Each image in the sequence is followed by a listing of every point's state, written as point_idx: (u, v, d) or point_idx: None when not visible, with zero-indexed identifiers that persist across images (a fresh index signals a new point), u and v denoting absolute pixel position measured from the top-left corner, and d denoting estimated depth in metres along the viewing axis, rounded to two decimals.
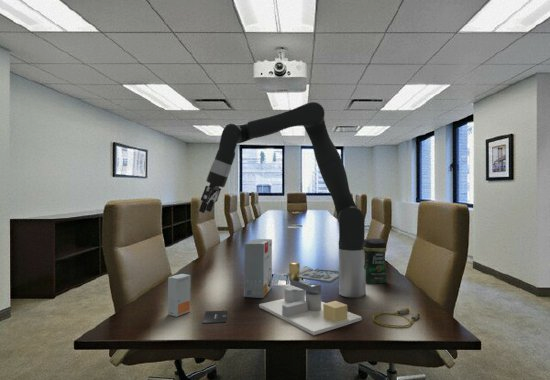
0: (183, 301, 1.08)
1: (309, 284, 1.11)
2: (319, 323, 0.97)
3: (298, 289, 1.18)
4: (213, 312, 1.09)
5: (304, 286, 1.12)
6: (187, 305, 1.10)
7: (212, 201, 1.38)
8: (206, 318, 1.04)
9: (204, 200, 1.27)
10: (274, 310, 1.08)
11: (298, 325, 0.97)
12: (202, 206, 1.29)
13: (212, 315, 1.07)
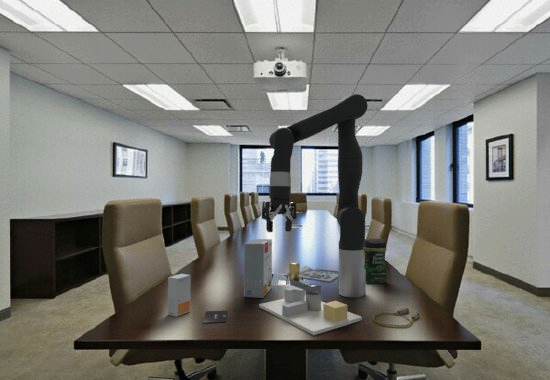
0: (183, 301, 1.08)
1: (309, 284, 1.11)
2: (319, 323, 0.97)
3: (298, 289, 1.18)
4: (213, 312, 1.09)
5: (304, 286, 1.12)
6: (187, 305, 1.10)
7: (288, 219, 1.21)
8: (206, 318, 1.04)
9: (264, 217, 1.14)
10: (274, 310, 1.08)
11: (298, 325, 0.97)
12: (267, 225, 1.15)
13: (212, 315, 1.07)
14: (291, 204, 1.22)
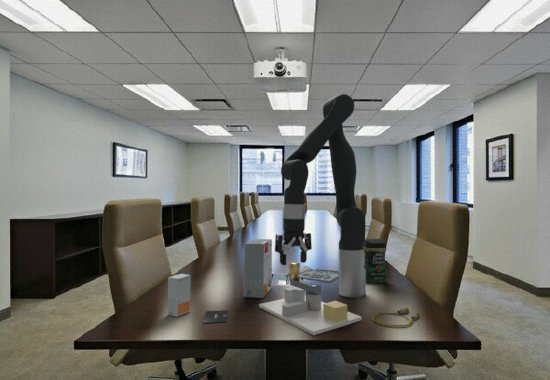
0: (183, 301, 1.08)
1: (309, 284, 1.11)
2: (319, 323, 0.97)
3: (298, 289, 1.18)
4: (213, 312, 1.09)
5: (304, 286, 1.12)
6: (187, 305, 1.10)
7: (303, 250, 1.21)
8: (206, 318, 1.04)
9: (277, 251, 1.14)
10: (274, 310, 1.08)
11: (298, 325, 0.97)
12: (280, 258, 1.16)
13: (212, 314, 1.07)
14: (306, 235, 1.21)
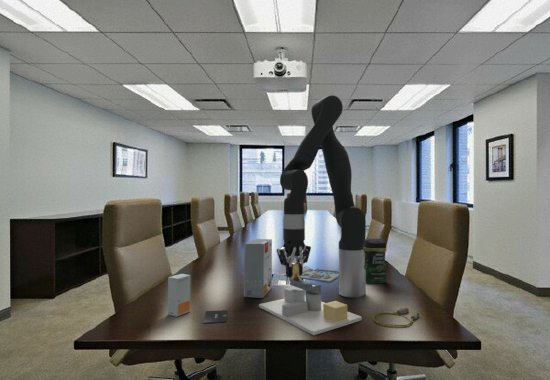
0: (183, 301, 1.08)
1: (309, 284, 1.11)
2: (319, 323, 0.97)
3: (298, 289, 1.18)
4: (213, 312, 1.09)
5: (304, 286, 1.12)
6: (187, 305, 1.10)
7: (299, 262, 1.19)
8: (207, 318, 1.04)
9: (283, 264, 1.15)
10: (274, 310, 1.08)
11: (298, 325, 0.97)
12: (286, 270, 1.17)
13: (212, 314, 1.07)
14: (306, 247, 1.21)
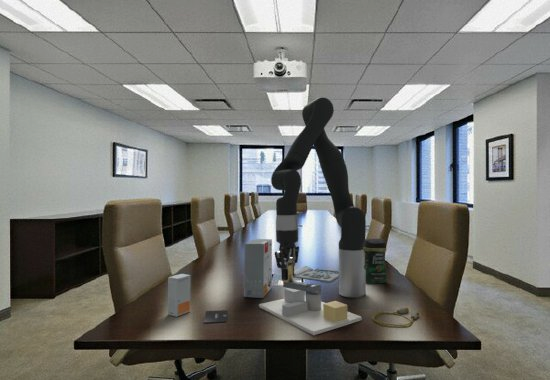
0: (183, 301, 1.08)
1: (308, 284, 1.11)
2: (319, 323, 0.97)
3: None
4: (214, 312, 1.09)
5: (303, 287, 1.11)
6: (187, 305, 1.10)
7: (291, 263, 1.17)
8: (207, 318, 1.04)
9: (281, 267, 1.11)
10: (274, 310, 1.08)
11: (298, 325, 0.97)
12: (283, 273, 1.13)
13: (213, 314, 1.07)
14: (295, 247, 1.20)
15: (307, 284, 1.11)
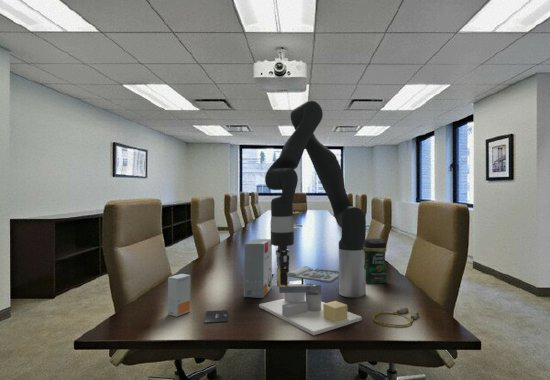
0: (183, 301, 1.08)
1: (308, 285, 1.10)
2: (319, 323, 0.97)
3: None
4: (214, 312, 1.09)
5: (304, 289, 1.09)
6: (187, 305, 1.10)
7: None
8: (207, 318, 1.04)
9: (285, 272, 1.05)
10: (274, 310, 1.08)
11: (298, 325, 0.97)
12: (283, 278, 1.07)
13: (213, 314, 1.07)
14: None
15: (306, 285, 1.10)
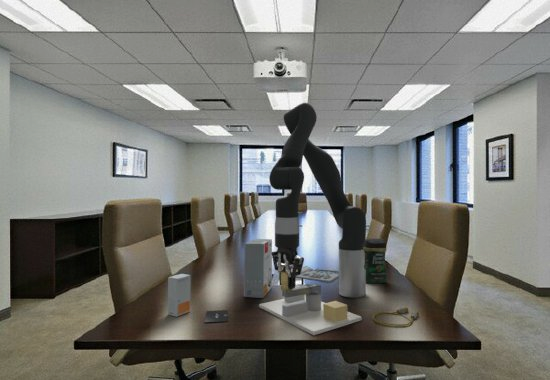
0: (183, 301, 1.08)
1: (309, 286, 1.09)
2: (319, 323, 0.97)
3: None
4: (214, 312, 1.09)
5: (307, 290, 1.07)
6: (187, 305, 1.10)
7: (283, 270, 1.07)
8: (208, 318, 1.04)
9: (297, 274, 1.01)
10: (274, 310, 1.08)
11: (298, 325, 0.97)
12: (293, 281, 1.02)
13: (213, 314, 1.07)
14: None
15: (308, 286, 1.09)
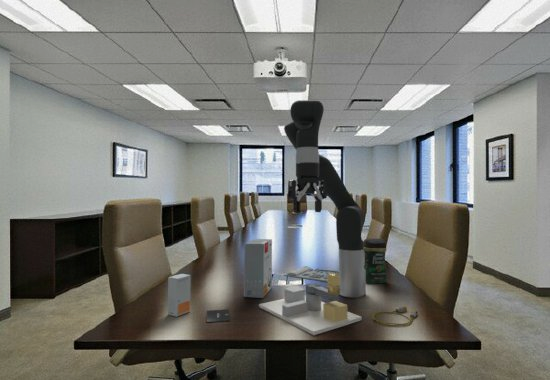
0: (183, 301, 1.08)
1: (316, 286, 1.09)
2: (319, 323, 0.97)
3: (298, 289, 1.18)
4: (214, 311, 1.10)
5: None
6: (187, 305, 1.10)
7: None
8: (209, 317, 1.04)
9: None
10: (274, 310, 1.08)
11: (298, 325, 0.97)
12: None
13: (214, 314, 1.07)
14: None
15: (317, 286, 1.08)
